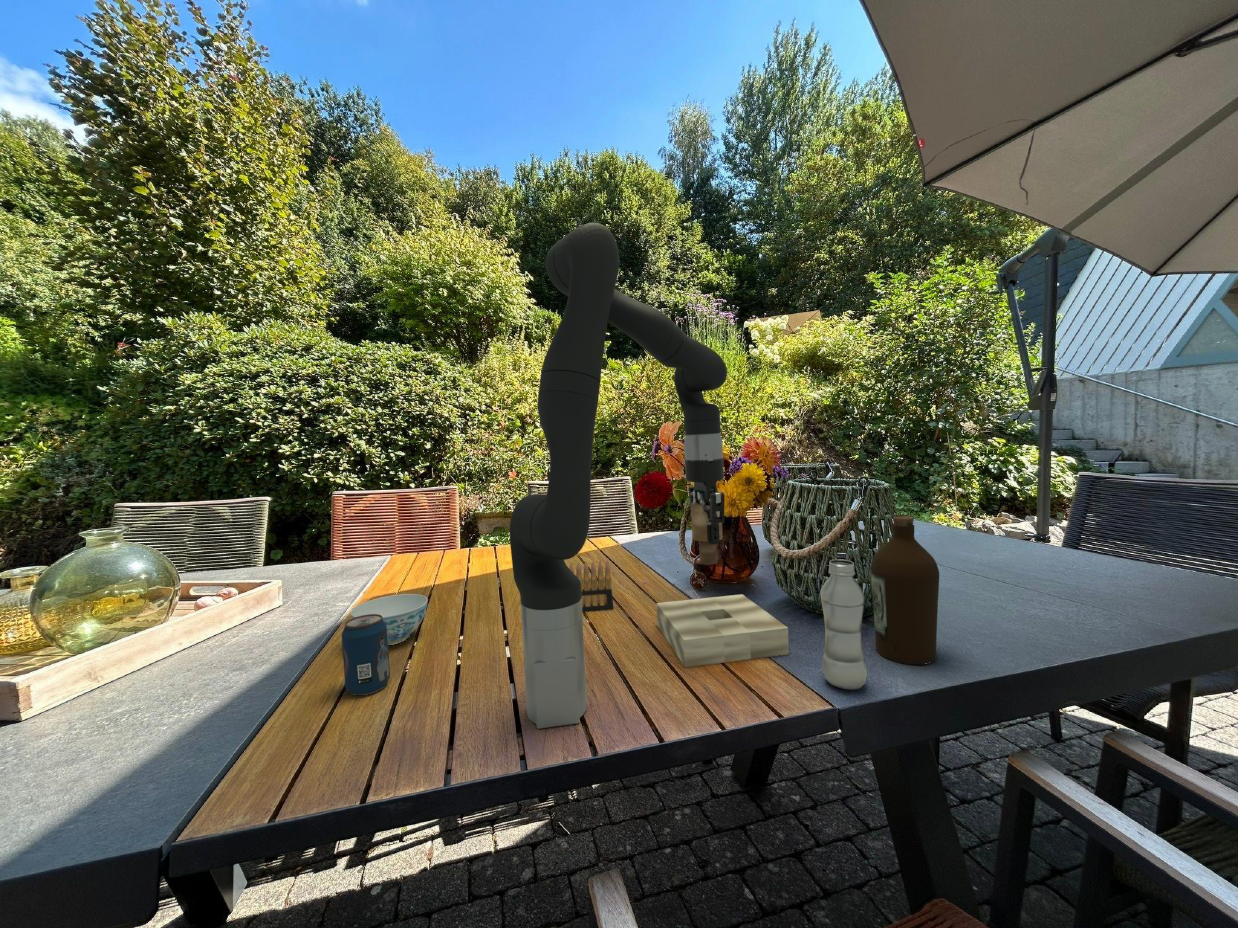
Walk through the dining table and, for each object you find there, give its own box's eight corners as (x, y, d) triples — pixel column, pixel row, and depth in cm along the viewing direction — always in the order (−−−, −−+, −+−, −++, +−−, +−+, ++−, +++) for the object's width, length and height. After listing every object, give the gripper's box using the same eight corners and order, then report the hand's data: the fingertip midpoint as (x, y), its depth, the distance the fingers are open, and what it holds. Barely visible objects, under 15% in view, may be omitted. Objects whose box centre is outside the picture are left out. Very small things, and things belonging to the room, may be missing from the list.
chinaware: (429, 646, 99) (427, 609, 99) (347, 661, 94) (344, 623, 93) (429, 622, 113) (427, 590, 113) (358, 634, 108) (355, 600, 107)
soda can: (349, 682, 85) (344, 616, 84) (392, 674, 87) (387, 610, 87) (342, 702, 79) (336, 630, 78) (388, 692, 81) (383, 623, 80)
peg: (728, 564, 94) (725, 504, 93) (699, 567, 93) (696, 506, 92) (716, 557, 100) (714, 500, 99) (689, 560, 99) (686, 502, 98)
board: (788, 654, 89) (788, 627, 88) (685, 667, 85) (683, 639, 85) (743, 615, 108) (742, 594, 108) (657, 625, 105) (656, 603, 105)
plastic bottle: (842, 698, 73) (839, 569, 72) (813, 677, 80) (810, 559, 79) (877, 691, 75) (874, 565, 74) (845, 671, 81) (843, 555, 80)
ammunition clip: (612, 606, 118) (610, 559, 117) (613, 609, 116) (611, 560, 116) (569, 610, 117) (567, 561, 116) (569, 613, 115) (567, 563, 115)
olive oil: (929, 643, 90) (927, 512, 89) (949, 670, 80) (948, 522, 79) (867, 639, 94) (864, 512, 92) (878, 663, 83) (876, 522, 82)
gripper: (674, 457, 101) (678, 535, 102) (698, 459, 87) (702, 550, 88) (708, 454, 103) (711, 531, 104) (736, 457, 89) (740, 546, 90)
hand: (707, 540), depth 96 cm, fingers closed on peg, 6 cm apart
